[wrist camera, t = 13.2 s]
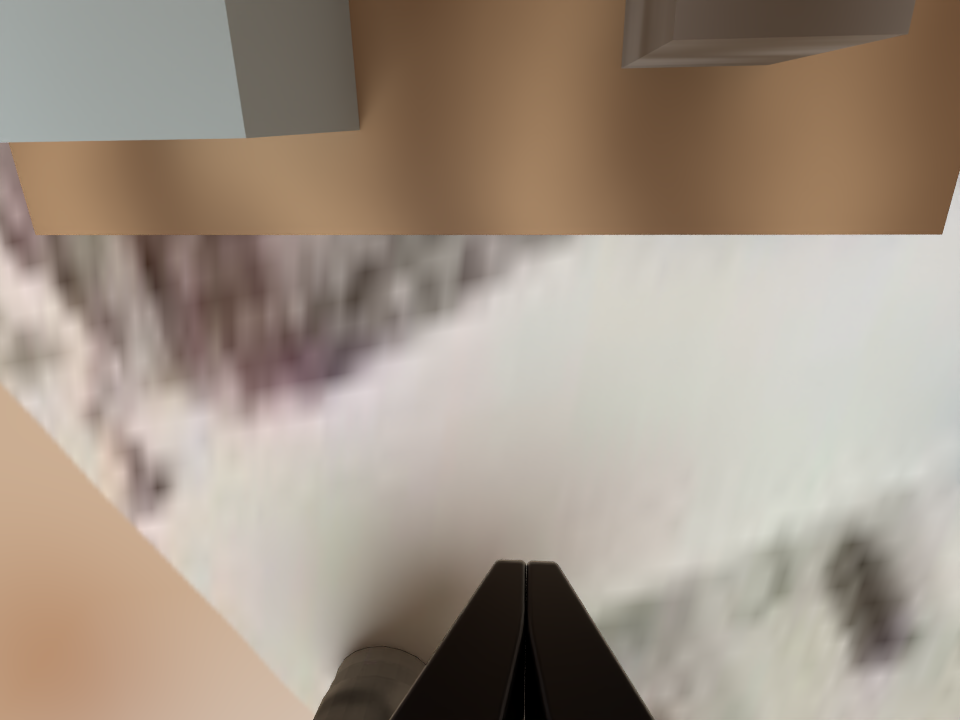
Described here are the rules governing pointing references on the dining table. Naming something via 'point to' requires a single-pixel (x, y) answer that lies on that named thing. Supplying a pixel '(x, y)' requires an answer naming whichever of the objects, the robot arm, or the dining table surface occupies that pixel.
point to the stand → (569, 129)
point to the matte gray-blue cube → (174, 69)
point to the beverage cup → (370, 685)
